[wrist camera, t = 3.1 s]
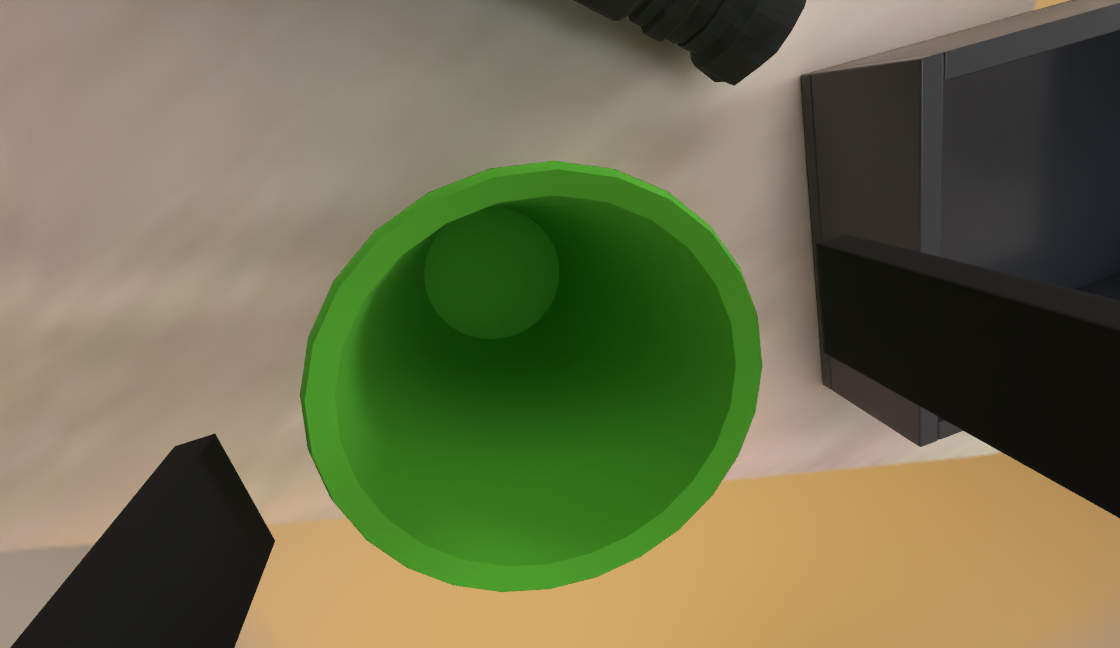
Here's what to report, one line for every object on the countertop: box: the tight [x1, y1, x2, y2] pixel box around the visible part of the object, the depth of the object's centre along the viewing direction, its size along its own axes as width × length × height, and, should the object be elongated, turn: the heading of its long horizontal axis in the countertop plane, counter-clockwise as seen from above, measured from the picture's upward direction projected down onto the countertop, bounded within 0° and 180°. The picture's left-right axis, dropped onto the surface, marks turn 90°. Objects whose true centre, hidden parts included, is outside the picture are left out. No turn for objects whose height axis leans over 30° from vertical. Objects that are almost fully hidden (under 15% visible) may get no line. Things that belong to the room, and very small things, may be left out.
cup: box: [300, 161, 762, 592], centre depth 16 cm, size 9×9×11 cm
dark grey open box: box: [801, 0, 1120, 447], centre depth 22 cm, size 18×14×6 cm
